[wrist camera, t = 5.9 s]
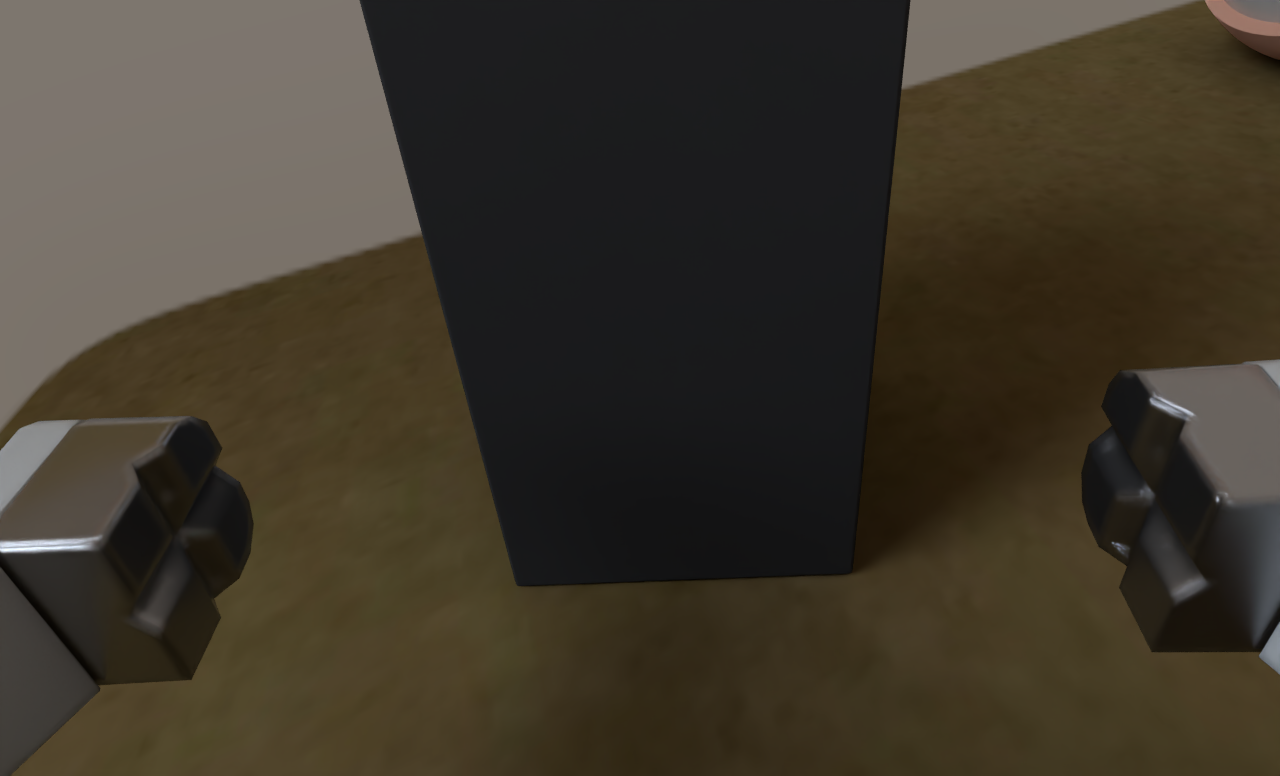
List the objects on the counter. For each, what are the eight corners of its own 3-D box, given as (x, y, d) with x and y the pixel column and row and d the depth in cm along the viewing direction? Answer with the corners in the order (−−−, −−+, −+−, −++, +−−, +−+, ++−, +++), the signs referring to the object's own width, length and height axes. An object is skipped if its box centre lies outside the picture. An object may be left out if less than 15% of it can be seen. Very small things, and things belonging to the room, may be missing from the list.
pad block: (516, 587, 13) (336, -72, 8) (548, 380, 17) (447, -158, 12) (852, 574, 13) (924, -125, 7) (809, 366, 17) (833, -196, 11)
